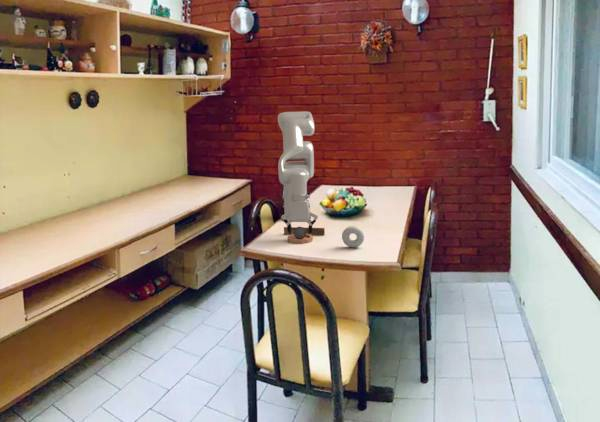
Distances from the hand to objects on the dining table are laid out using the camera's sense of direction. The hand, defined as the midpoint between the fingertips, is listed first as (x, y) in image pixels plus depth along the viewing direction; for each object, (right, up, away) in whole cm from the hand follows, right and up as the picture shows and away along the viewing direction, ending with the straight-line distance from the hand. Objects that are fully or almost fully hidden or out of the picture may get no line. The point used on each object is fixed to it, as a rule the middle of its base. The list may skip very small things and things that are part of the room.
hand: (300, 233), depth 263 cm
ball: (0, 0, 0) cm, 0 cm away
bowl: (0, -3, +1) cm, 4 cm away
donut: (+24, -6, -13) cm, 28 cm away
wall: (+2, -1, +10) cm, 11 cm away
